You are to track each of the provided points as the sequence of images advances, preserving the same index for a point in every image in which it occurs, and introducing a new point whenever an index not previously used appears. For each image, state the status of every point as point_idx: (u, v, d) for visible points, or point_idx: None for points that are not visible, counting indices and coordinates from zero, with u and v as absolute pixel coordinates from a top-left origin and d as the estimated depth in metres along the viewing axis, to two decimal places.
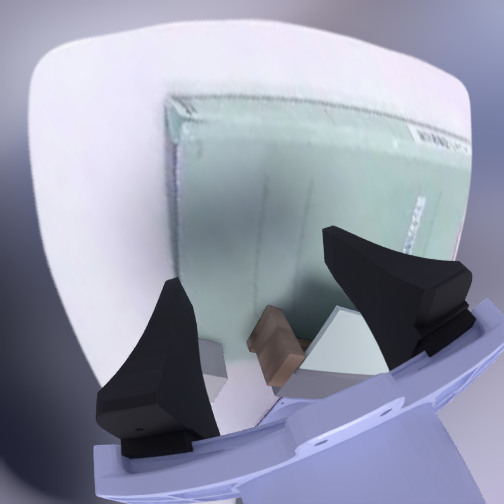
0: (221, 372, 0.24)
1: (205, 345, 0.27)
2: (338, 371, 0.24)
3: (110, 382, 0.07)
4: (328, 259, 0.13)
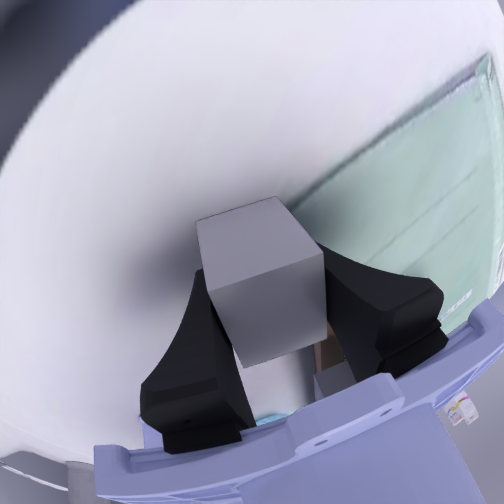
0: None
1: None
2: None
3: (154, 373, 0.07)
4: None
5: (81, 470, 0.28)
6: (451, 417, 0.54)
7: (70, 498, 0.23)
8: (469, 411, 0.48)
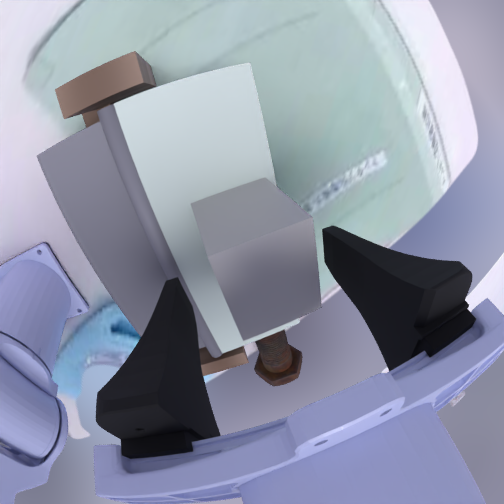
0: None
1: None
2: (148, 190, 0.12)
3: (110, 382, 0.07)
4: (328, 259, 0.13)
5: None
6: None
7: None
8: None
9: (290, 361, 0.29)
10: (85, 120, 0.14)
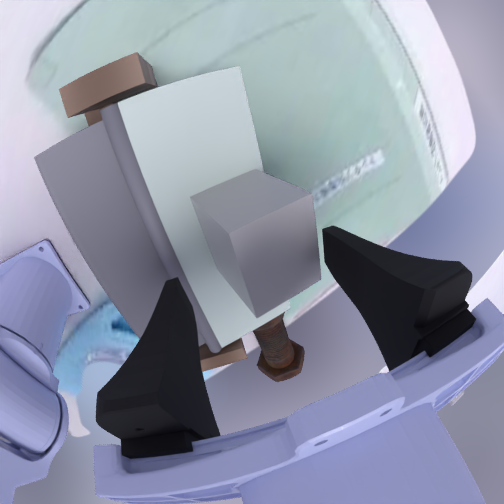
0: None
1: None
2: (150, 186, 0.13)
3: (110, 382, 0.07)
4: (328, 259, 0.13)
5: None
6: None
7: None
8: None
9: (292, 356, 0.30)
10: (87, 119, 0.14)
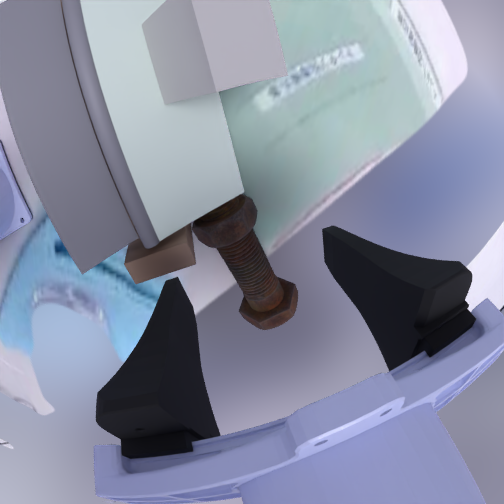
0: None
1: None
2: (86, 17, 0.08)
3: (110, 382, 0.07)
4: (328, 259, 0.13)
5: None
6: None
7: None
8: None
9: (280, 294, 0.25)
10: None
